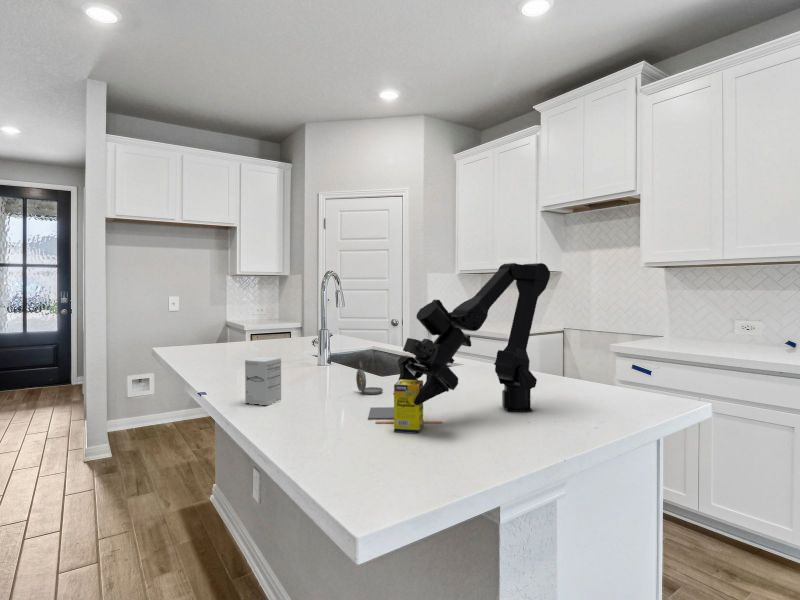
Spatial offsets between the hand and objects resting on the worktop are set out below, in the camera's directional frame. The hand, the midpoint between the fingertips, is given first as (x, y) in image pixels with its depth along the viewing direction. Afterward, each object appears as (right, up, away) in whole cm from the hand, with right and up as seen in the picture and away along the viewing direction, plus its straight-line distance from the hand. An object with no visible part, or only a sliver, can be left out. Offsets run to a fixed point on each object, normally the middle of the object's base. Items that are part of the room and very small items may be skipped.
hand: (404, 399), depth 109 cm
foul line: (+1, -7, +6) cm, 9 cm away
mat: (-3, -6, +14) cm, 16 cm away
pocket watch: (-11, -6, +38) cm, 40 cm away
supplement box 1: (-40, -7, +27) cm, 49 cm away
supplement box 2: (+1, -7, +1) cm, 7 cm away
